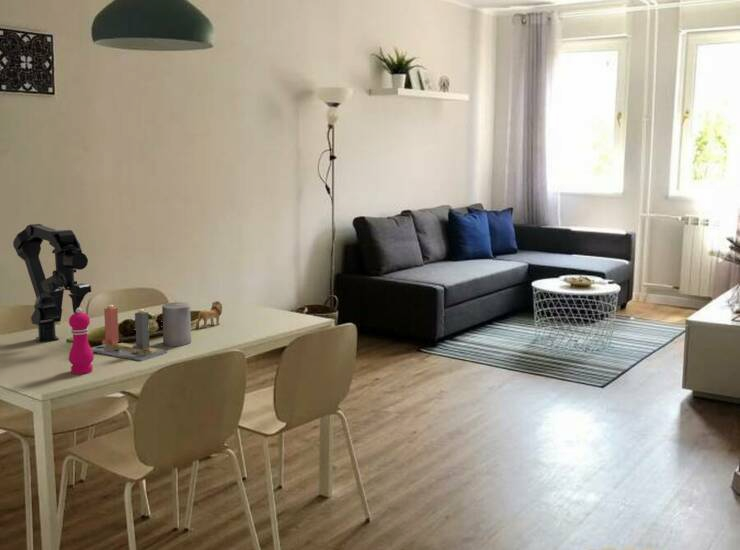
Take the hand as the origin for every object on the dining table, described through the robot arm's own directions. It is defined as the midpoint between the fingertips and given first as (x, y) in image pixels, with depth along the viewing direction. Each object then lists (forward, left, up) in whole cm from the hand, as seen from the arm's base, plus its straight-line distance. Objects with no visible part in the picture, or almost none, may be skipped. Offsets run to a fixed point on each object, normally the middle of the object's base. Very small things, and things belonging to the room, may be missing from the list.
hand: (67, 311), depth 278 cm
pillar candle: (+16, +33, -12) cm, 39 cm away
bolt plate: (+19, +14, -12) cm, 27 cm away
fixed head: (+25, +17, -11) cm, 32 cm away
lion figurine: (-4, +53, -12) cm, 55 cm away
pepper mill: (+35, -5, -12) cm, 37 cm away
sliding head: (+12, +10, -11) cm, 19 cm away
